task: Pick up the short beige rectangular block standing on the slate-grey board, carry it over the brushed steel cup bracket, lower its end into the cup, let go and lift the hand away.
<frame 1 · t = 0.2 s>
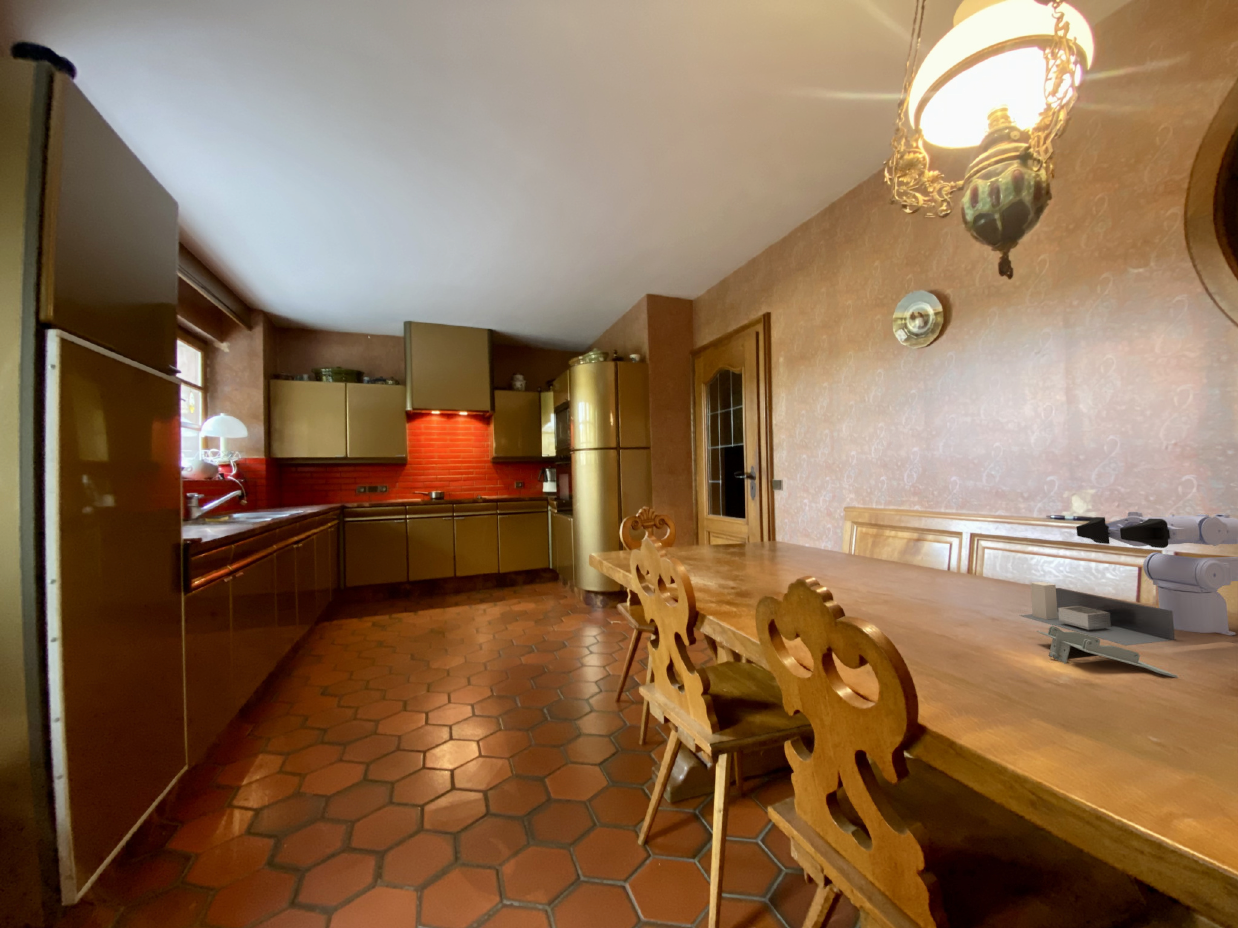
hand: (1099, 532, 94), 21 cm above the table, tool horizontal, fingers open, 7 cm apart
mounting board: (1091, 631, 98), on the table
beige rectangular block: (1045, 616, 105), point 1 cm above the table, touching mounting board
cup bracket: (1085, 631, 98), resting on mounting board
metal bracket: (1095, 663, 84), on the table
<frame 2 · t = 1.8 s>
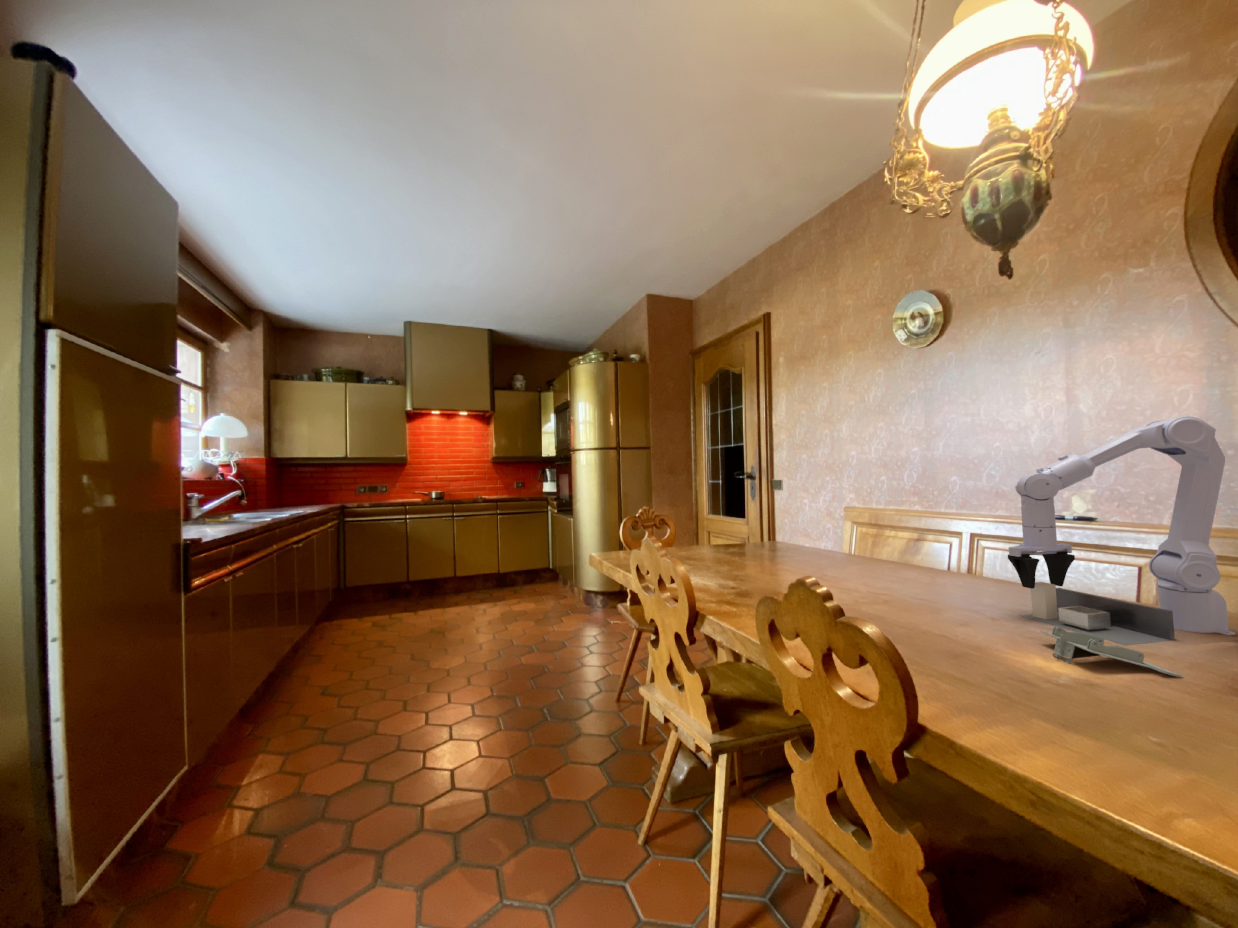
hand: (1042, 586, 105), 8 cm above the table, tool pointing down, fingers open, 7 cm apart
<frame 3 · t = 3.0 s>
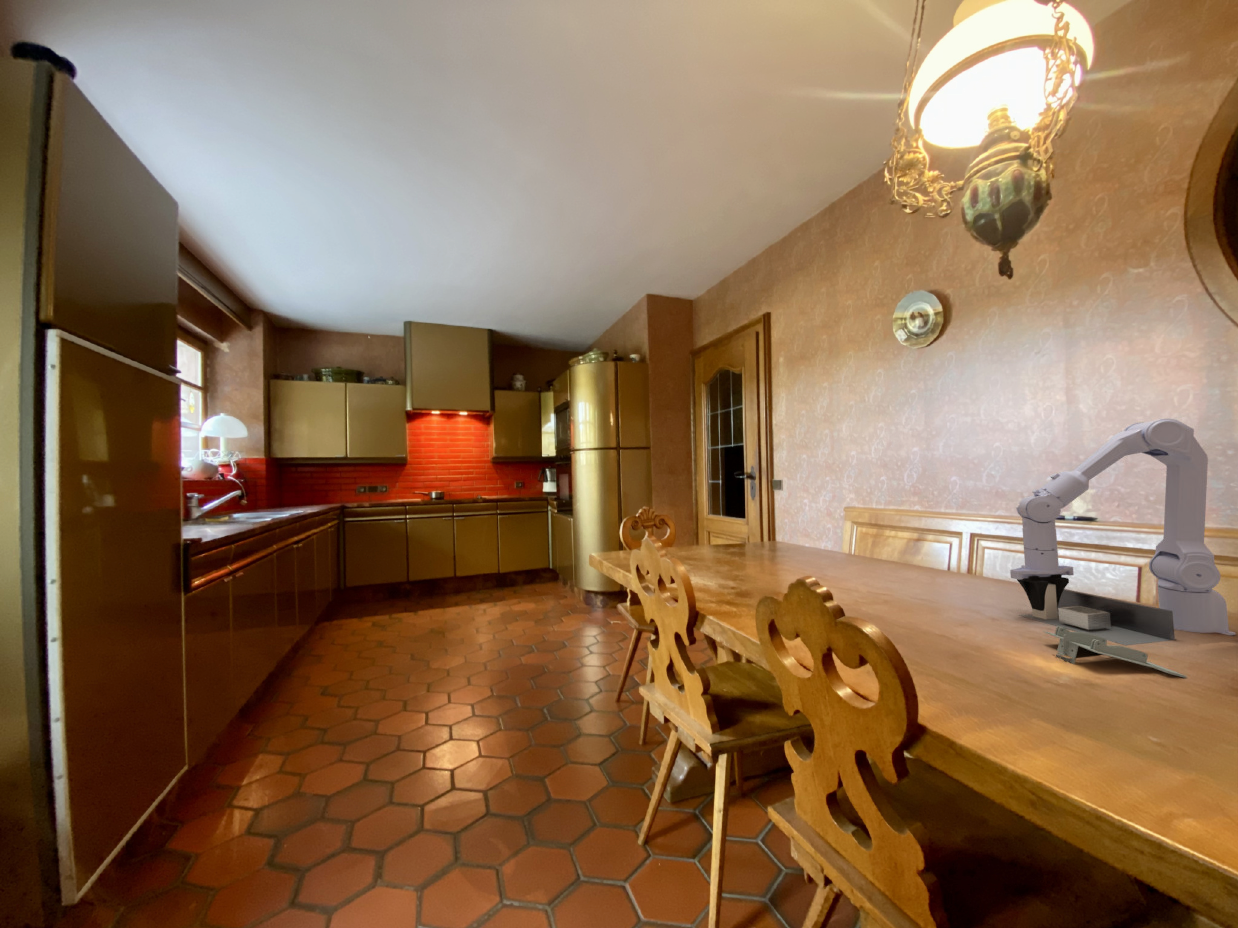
hand: (1044, 608, 105), 3 cm above the table, tool pointing down, fingers closed on beige rectangular block, 3 cm apart
beige rectangular block: (1045, 616, 105), point 1 cm above the table, touching gripper, mounting board
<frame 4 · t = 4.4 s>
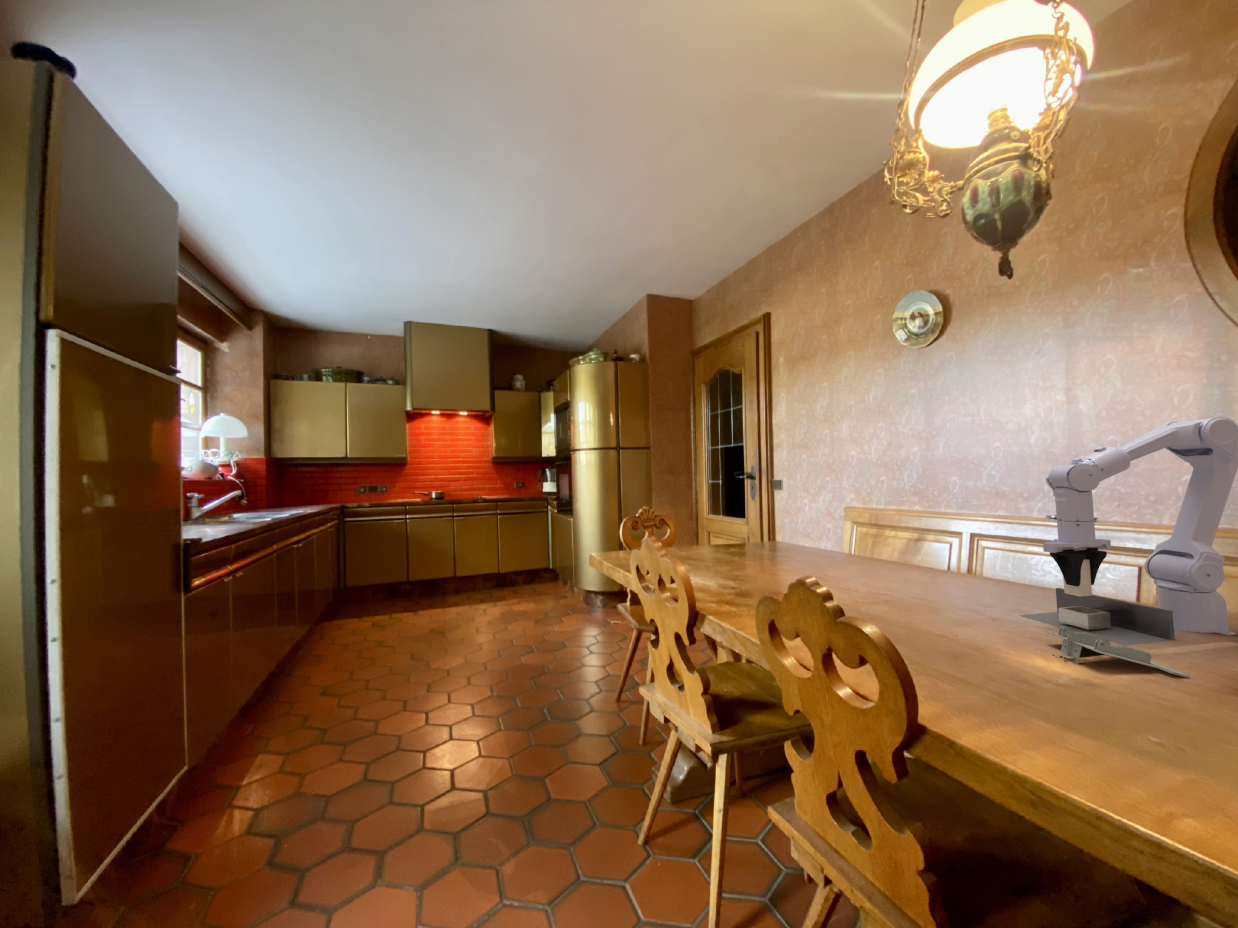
hand: (1079, 584, 98), 10 cm above the table, tool pointing down, fingers closed on beige rectangular block, 3 cm apart
beige rectangular block: (1078, 594, 99), point 8 cm above the table, touching gripper
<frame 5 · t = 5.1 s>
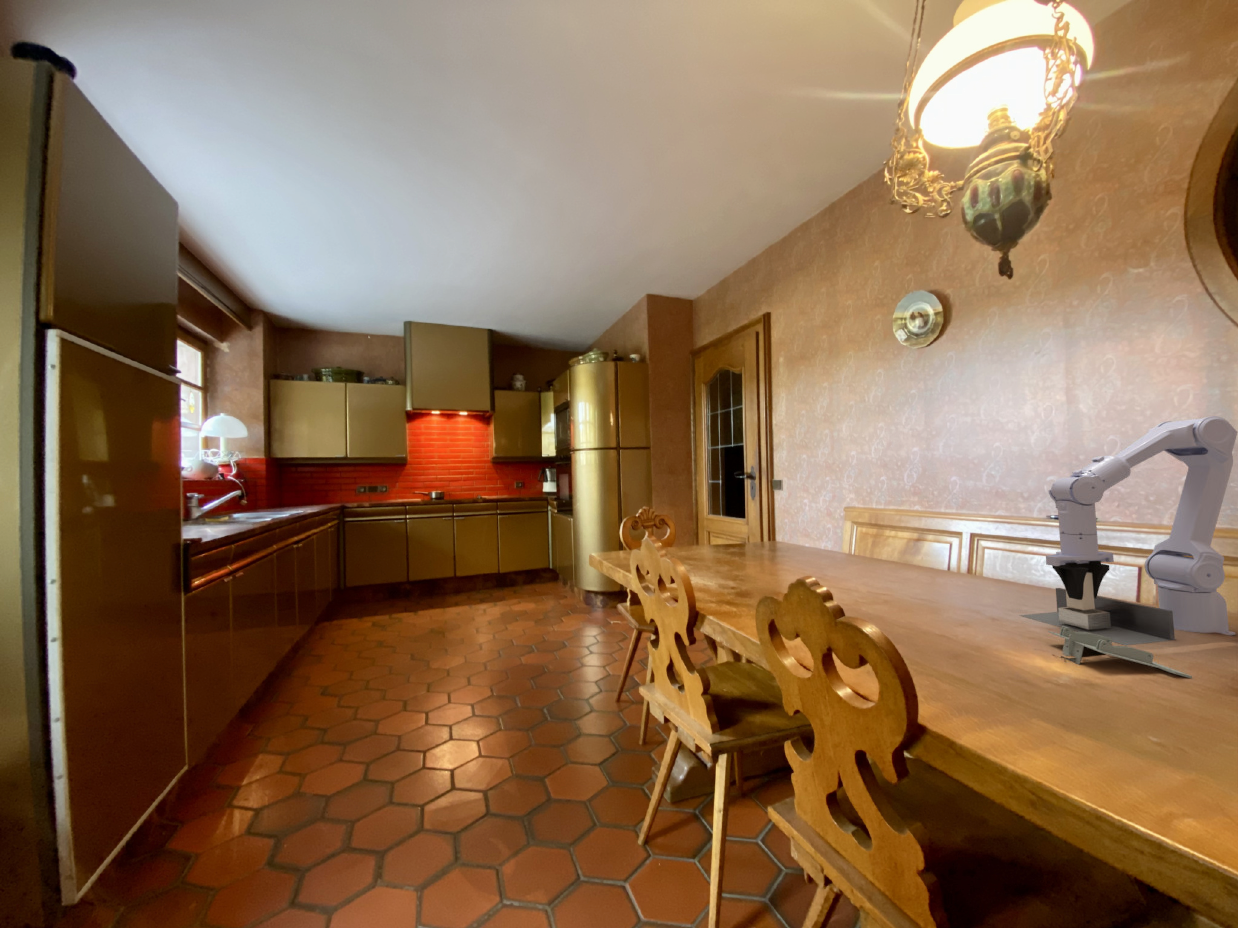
hand: (1082, 597, 98), 7 cm above the table, tool pointing down, fingers closed on beige rectangular block, 3 cm apart
beige rectangular block: (1080, 607, 98), point 5 cm above the table, touching gripper
when the fingers open (5 cm above the table, at t = 5.8 s): beige rectangular block drops 1 cm, resting on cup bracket.
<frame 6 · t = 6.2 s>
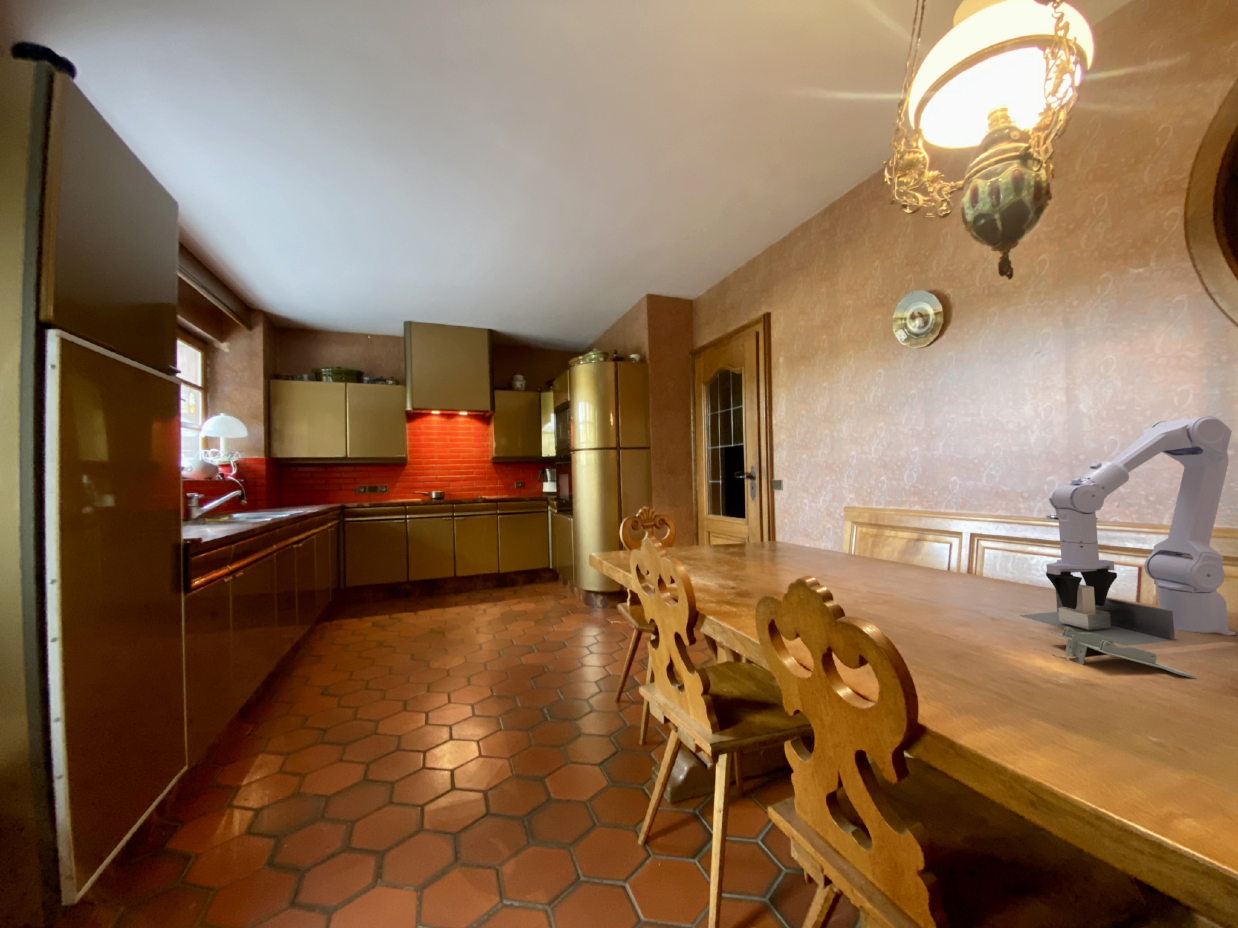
hand: (1083, 606, 98), 5 cm above the table, tool pointing down, fingers open, 6 cm apart
beige rectangular block: (1082, 621, 98), point 2 cm above the table, touching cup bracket
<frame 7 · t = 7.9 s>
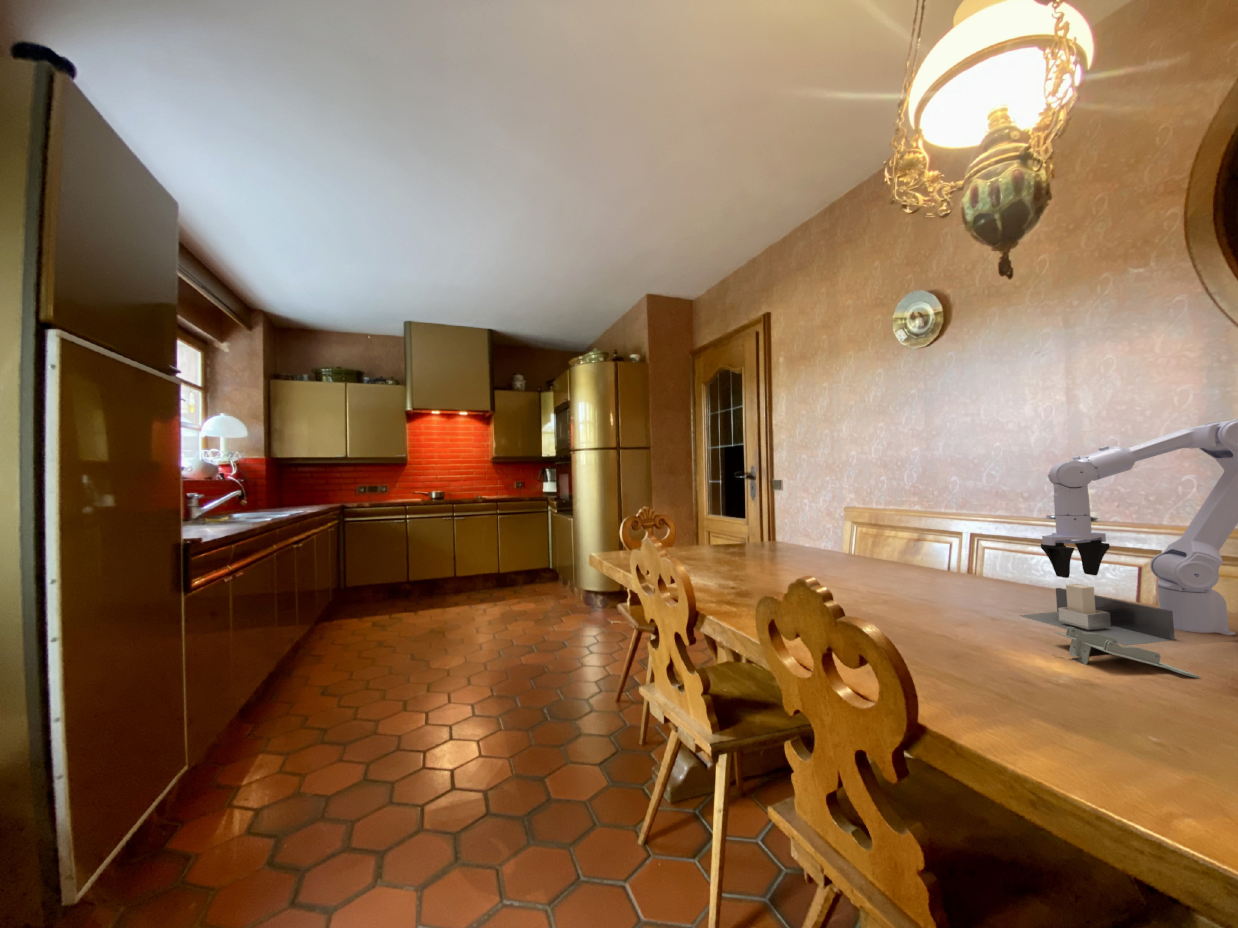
hand: (1076, 575, 104), 10 cm above the table, tool pointing down, fingers open, 7 cm apart
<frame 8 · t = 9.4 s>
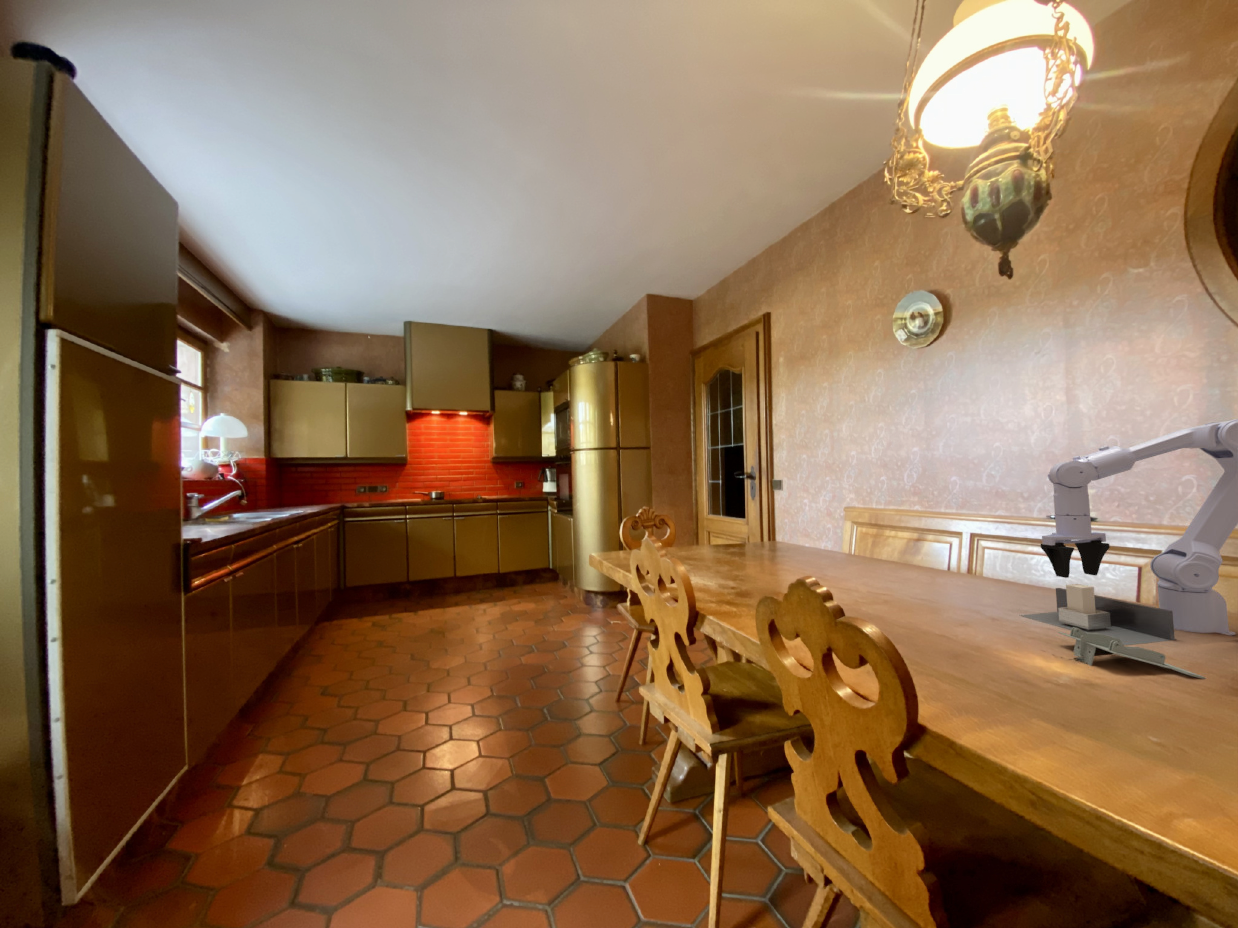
hand: (1076, 575, 104), 10 cm above the table, tool pointing down, fingers open, 7 cm apart
at the end: beige rectangular block 0.4 cm off-centre on the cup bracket, point 2.0 cm above the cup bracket's base; beige rectangular block tilted 0°; the gripper is holding nothing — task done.
